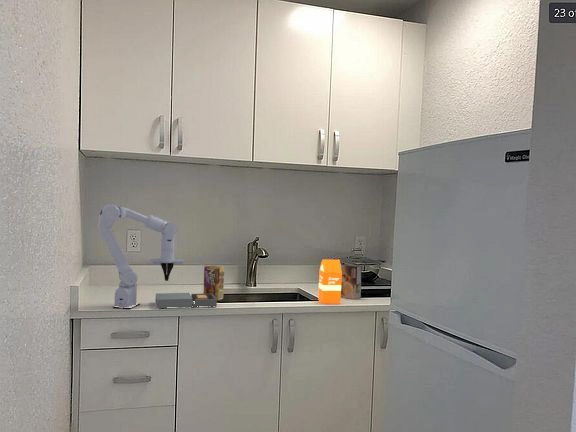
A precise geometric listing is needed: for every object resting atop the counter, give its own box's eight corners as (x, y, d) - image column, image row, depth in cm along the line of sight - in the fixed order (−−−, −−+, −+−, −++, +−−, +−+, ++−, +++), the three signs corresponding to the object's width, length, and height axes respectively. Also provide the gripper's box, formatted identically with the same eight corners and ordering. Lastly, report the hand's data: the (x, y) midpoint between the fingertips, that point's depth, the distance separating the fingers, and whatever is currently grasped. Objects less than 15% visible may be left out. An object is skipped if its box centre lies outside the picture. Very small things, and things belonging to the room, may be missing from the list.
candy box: (223, 299, 238) (224, 266, 237) (218, 300, 234) (219, 267, 233) (208, 296, 242) (209, 264, 241) (202, 298, 238) (203, 265, 238)
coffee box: (361, 297, 254) (362, 265, 253) (356, 299, 248) (357, 266, 248) (344, 295, 259) (345, 263, 258) (339, 297, 253) (340, 264, 252)
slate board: (157, 309, 213) (157, 299, 213) (155, 302, 226) (155, 293, 226) (192, 308, 218) (192, 298, 218) (188, 301, 230) (188, 292, 230)
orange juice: (318, 299, 244) (319, 258, 243) (335, 299, 246) (337, 258, 245) (322, 303, 237) (324, 260, 236) (340, 303, 238) (342, 260, 238)
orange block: (207, 297, 223) (207, 304, 224) (205, 294, 229) (205, 301, 229) (198, 297, 222) (198, 304, 222) (196, 295, 228) (196, 301, 228)
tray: (192, 307, 218) (193, 299, 218) (189, 301, 230) (189, 293, 230) (216, 307, 221) (216, 299, 221) (211, 300, 233) (212, 293, 233)
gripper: (150, 250, 217) (149, 282, 218) (185, 250, 221) (184, 281, 222) (150, 248, 224) (149, 279, 224) (183, 248, 228) (182, 279, 229)
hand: (166, 280), depth 224 cm, fingers closed
